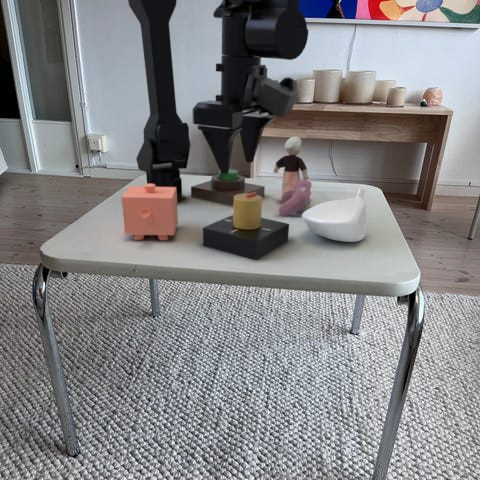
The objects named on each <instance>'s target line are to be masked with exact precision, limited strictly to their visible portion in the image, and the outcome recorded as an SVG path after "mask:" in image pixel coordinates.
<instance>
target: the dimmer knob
mask: <svg viewBox="0 0 480 480" xmlns="http://www.w3.org/2000/svg"><path fill="white" fill-rule="evenodd" d="M256 194H257V193H256V192H253V193H250V194H238V195H235V196H234V203H233V206H232V207H233V209H232V211H233V212H232V215H233V226H234V227H236V228H238V229H244V230H252V229H257V228H259V227H260V226H261V218H262V211H263V209H262V207H263V197H261V196H259V195H256Z"/></svg>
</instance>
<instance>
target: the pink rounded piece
mask: <svg viewBox="0 0 480 480" xmlns="http://www.w3.org/2000/svg"><path fill="white" fill-rule="evenodd" d="M311 188H312V181H309V180H308V179H306V180H305V179H303V178H300V181H298V182H297V183H296V185H295V191H294V190H293V189H292V190H290V191H287V192H285V193H284V194H283V195H282V194H281V198H280V202H281V201H282V202H281V203H282V204H281V205H280V206H279V208H278V213H279V215H280V216H282V217H285V216H286V217H287V216H292V215H294V214H299V213H300V211H301V210H302V209H303V208H304V207H305V206H306V205H310V204H311V202H312V198H311V196H312V191H311V190H312V189H311ZM294 192H295V195H294V196H293V197H292V195H293V193H294ZM283 202H285V203H283Z"/></svg>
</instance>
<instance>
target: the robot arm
mask: <svg viewBox="0 0 480 480" xmlns="http://www.w3.org/2000/svg"><path fill="white" fill-rule="evenodd" d="M127 2H128V6H129V8H130V9H131V12H132V13H133V14H134V16H135V18H136V19H137V21H138V22H139V24H140V34H141V40H142V51H143V61H144V69H145V79H146V86H147V96H148V107H149V116H148V118H147V121H146V123H145V126H144V127H143V143H142V144H141V147H140V149H139V151H138V154H137V156H136V159H135V160H136V164H137V168H138V170H139V171H142V172H145V174H146V176H145V177H146V184H155V185H156V186H155V187H176V189H177V202H181V201H183V200H186V198H187V197H186V195H184V194H183V186H182V185H183V182H182V181H183V180H182V177H181V171H180V170H181V169H183V170H185V169H187V168H188V163H189V156H190V151H191V145H192V144H191V141H190V127H189V124H188V123H187V122H183V121H182V118H180V116H179V114H178V110H177V100H176V88H175V87H176V86H175V77H174V66H173V64H174V63H173V54H172V42H171V31H170V22H171V20H172V19H171V18H172V17H173V14H174V11H175V9H176V7H177V3H178V2H177V0H127ZM299 7H300V0H222V1H221V3H220V4H219V6H218V7H216V8H215V10H214V12H213V18H215V19H221V57H220V59H221V60H220V61H221V63H219V62H218V63H217V62H216V63H215V72H219V73H220V81H221V82H220V94H215V100H203V101H199V102H197V103H196V104H195V105H194V107H193V108H192V124H193V125H197V130H198V131H200V132H201V133H202V136H203V137H204V139H205V141H206V143H207V145H208V147H209V149H210V151H211V153H212V156H213V158H214V160H215V162H216V164H217V167H218V169H219V170H220V171H221V173H223V174H228V172H229V169H230V166H231V161H232V155H233V154H232V152H233V147H234V139H235V137H236V136H237V135H238V134H239V136H240V140H241V145H242V150H243V154H244V158H245V162H246V163H250V164H251V163H253V162H254V160H255V157H256V155H257V154H256V153H257V150H258V147H259V145H260V141H261V138H262V135H263V133H264V130H265V128H266V127H267V126H268V125H269V124H271V123H272V122H273V121H274V120H276V117H277V118H284V117H285V116H286V115H287V116H290V115H291V113H292V110H293V108H294V106H295V104H297V103H298V102H299V94H300V92H299V91H298V81H297V80H296V79H294V78H292V77H290V76H289V77H284V78H282V80H281V81H280V82H279V80H276V79H275V80H274V79H272V78H270V77H268V67H267V65H266V64H262V58H263V59H275V60H286V61H292V60H295V59H297V58H299V57H300V56H301V55H302V53H303V52H304V50H305V48H306V46H307V43H308V39H309V29H308V23H307V20H306V17H305V16H304V14H303V12H302V11H301V10H300V9H299Z"/></svg>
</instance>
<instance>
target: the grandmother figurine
mask: <svg viewBox="0 0 480 480" xmlns="http://www.w3.org/2000/svg"><path fill="white" fill-rule="evenodd" d="M301 145H302V139H301V138H300V137H299V136H296V135H295V136H292V137H289V138H288V139H287V140H286V141H285V143H284V146H283V148H284V150H286V151H287V155H284V156H282V157H280V158H279V159H277V161H276V162H275V165H274V168H273V170H272V171H273V173H274V174H277V173H279V170H280V169H281V168H284V169H283V175H282V183H281V196H282V195H283V194H284V193H285V192H287V191H290V190H292V189H293V190H294V191H295V185H296V183H297V182H298V181H300V180H301V176H302V180H308V179H309V175H308V170H307V169H308V168H307V165H306V163H305V162H304V160H303V158H301V157H300V156H297V155H299V154H300V151H301V147H302V146H301ZM300 172H301V174H302V175H300ZM294 195H295V192H294V193H293V195H292V197H293V196H294ZM280 203H282V201H281V200H280ZM283 203H285V202H283ZM283 203H282V204H283Z"/></svg>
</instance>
